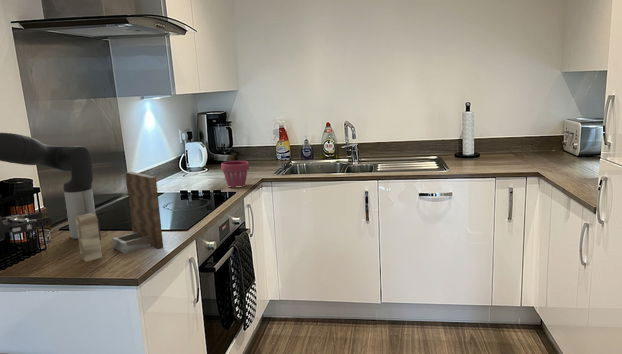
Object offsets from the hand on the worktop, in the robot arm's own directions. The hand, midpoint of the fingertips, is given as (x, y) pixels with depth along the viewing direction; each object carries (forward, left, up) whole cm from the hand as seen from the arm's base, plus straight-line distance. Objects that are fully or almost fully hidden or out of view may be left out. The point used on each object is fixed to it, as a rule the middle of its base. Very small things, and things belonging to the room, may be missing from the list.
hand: (46, 218), depth 141 cm
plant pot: (-51, +106, -16) cm, 119 cm away
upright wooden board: (0, +25, -16) cm, 30 cm away
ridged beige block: (0, +11, -16) cm, 19 cm away
